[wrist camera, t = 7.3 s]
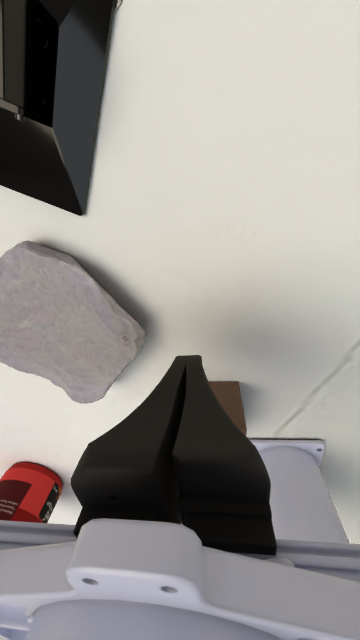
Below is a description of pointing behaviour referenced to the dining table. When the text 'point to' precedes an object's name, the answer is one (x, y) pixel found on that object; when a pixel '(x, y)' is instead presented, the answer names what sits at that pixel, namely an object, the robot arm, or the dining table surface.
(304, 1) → the dining table surface
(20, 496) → the canned food
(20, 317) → the stone block
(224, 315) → the dining table surface
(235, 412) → the walnut cube
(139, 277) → the dining table surface
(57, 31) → the build plate
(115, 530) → the robot arm
